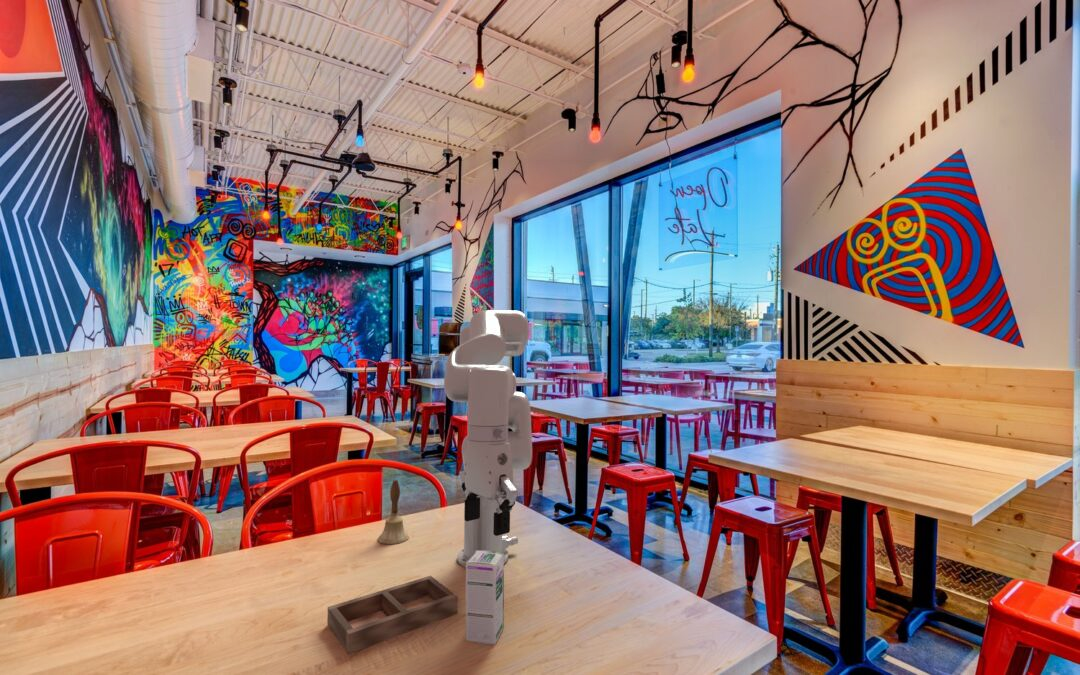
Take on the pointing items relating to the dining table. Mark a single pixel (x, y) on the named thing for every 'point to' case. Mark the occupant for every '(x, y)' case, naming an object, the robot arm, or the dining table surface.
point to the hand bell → (394, 521)
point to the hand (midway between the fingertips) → (486, 526)
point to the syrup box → (485, 597)
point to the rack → (389, 613)
